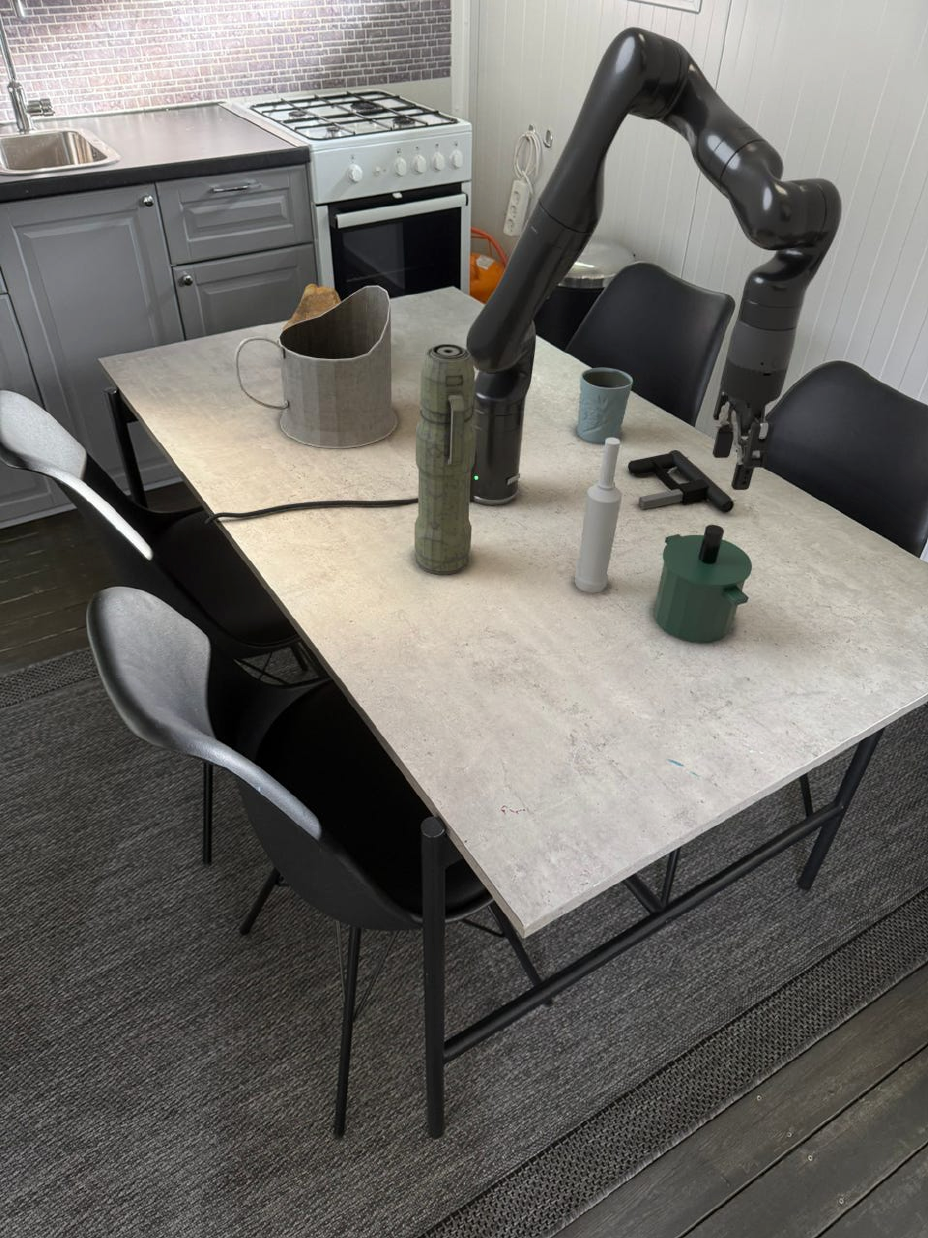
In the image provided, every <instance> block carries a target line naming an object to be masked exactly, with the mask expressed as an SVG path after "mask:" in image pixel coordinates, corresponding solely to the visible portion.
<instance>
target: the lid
mask: <svg viewBox="0 0 928 1238" xmlns="http://www.w3.org/2000/svg"><path fill="white" fill-rule="evenodd" d="M724 534H725V529H724V528H723V527H721V526H720V525H718V524H708V525H706V526H705V527H704V531H703V534H688V535H687V534H686V535H682V536H681V537H678V538H675V539H673V540H672V541H670V542H669V543H668V544H666V545H665V546H664V548H663V551H662V561H663V564H664V563H665V565H666V566H667V568H668V569H669V570H670V571H671V572H673V573H674V574H675V575H677V576H678V577H680V578H681V579H683V580H686V581H688V582H690V583H693V584H697V585H700V586H705V587H714V588H724V587H731V586H735V585H738V584H740V583H742V582H744V581H745V582H746V581H747V580H748V578H750V576H751V574H752V570H753V562H752V560H751V558H750V556H749V555H748V554H747V552H745V551H744V550H743V549H742V548H740V547H739V546H738V545H736V544H734V543H732V542H730V541H728V540H726V539H723V537H724ZM745 582H744V583H745Z"/></svg>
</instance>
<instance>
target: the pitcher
mask: <svg viewBox="0 0 928 1238" xmlns="http://www.w3.org/2000/svg"><path fill="white" fill-rule="evenodd" d="M391 307H392V306H391V298H390V296H389V293H388V291H387V290H386V289H384V288H383V287H381V286H379V285H366V286H364V287H362V288H360V289H359V290H357V291H355V292H353V293H352V294H350V295H349V296H348V297H346V298H345V299H344V300H341V303H339V304H338V305H337V306H335V307H334V308H332V309H330V310H329V311H327V312H325V313H324V314H322V315H320V316H318V317H314V318H311V319H307V320H304V321H301V322H298V323H295V324H292V325H290V326H289V327H287V328H286V329H284V330H283V329H282V330H281V332H280V334H279V335H278V338H277V341H278V340H279V344H278V343H277V341H275V340H273V339H271V338H269V337H266V336H257V335H255V336H249V337H246V338H244V339H243V340H241V341H240V342H239V344H238V345H237V347H236V348H235V352H234V356H233V363H234V364H233V365H234V373H235V377H236V381H237V384H238V387H239V388H240V390H241V391H242V392H243V393H244V394H245V396H247V397H248V398H249V399H250V400H251V401H253V402H254V403H256V404H257V405H260V406H261V407H264V408H267V409H270V410H275V411H282V414H281V417H280V420H279V423H280V428H281V430H282V431H283V432H284V433H285V434H286V436H288V437H289V438H290V439H293V440H294V441H296V442H299V443H300V444H304V445H307V446H308V445H309V446H313V447H317V448H323V449H351V448H359V447H363V446H366V445H371V444H375V443H376V442H378V441H381V440H383V439H385V438H387V437H388V436H389V435H390V434H391V433H392V432H394V430H395V429H396V426H397V422H398V418H397V416H396V413H395V411H394V408H393V406H392V405H393V404H392V403H393V402H392V401H393V400H392V399H393V397H392V313H391V310H392V309H391ZM253 341H264V342H268V343H271V344H272V345H275V346H276V347H277V348H278V349H279V350H278V351H279V361H280V373H281V384H282V393H283V395H282V396H283V405H279V406H277V405H272V404H268V403H264V402H262V401H260V400H258V399H256V398H255V397H253V396H252V395H251V394H249V393H248V392H247V391H246V390H245V388H244V386H243V384H242V380H241V375H240V370H239V369H240V368H239V356H240V352H241V351H242V349H243V348H244V346H245V345H247V344H248V343H249V342H253Z"/></svg>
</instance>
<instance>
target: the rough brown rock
mask: <svg viewBox="0 0 928 1238" xmlns="http://www.w3.org/2000/svg"><path fill="white" fill-rule="evenodd" d="M341 302H342V300H341V298H340V296H339V293H338V292H337V290H336V289H335V288H333V287H331V286H328V285H322V286H319V285H318V284H314V283H309V284H308V285H307V286H305V288H304V290H303V294H302V297H301V299H300V302H299V304H298V306H297V308H296V310H295V311H294V313H293V315H292V317H291V318H290V319H289V320H288V321H287V323H286V324H285V325H284V326H283V328H282V331H283V330H284V329H286V328H287V327H289V326H290V325H292V324H295V323H298V322H301V321H304V320H307V319H311V318H314V317H318V316H320V315H322V314H324V313H325V312H327V311H329V310H330V309H332V308H334V307H335V306H337V305H338V304H339V303H341ZM276 343H278V344H279V340H278V339H277V341H276Z"/></svg>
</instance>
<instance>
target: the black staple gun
mask: <svg viewBox="0 0 928 1238" xmlns="http://www.w3.org/2000/svg"><path fill="white" fill-rule="evenodd" d="M689 458H690V456H686V455H684V454H683V452H681V451H680V450H677V449H673V450H670V451H669V452H668V453H663V454H658V455H653V456H648V457H644V458H638V459H634V460H633V459H632V460H630V461H629V462H628V464H627V470H628V472H630V474H632V475H634V476H641V475H646V474H650V473H652V474H653V475H654V476H655V477H656V478H657V479H658V480H659V481H660V482H662V484H663V485H664V486H666V487H667V489H668V490H667V491H666V490H665V491H662V492H658V493H653V494H648V495H644V496H639V500H638V506H639V508H641V509H642V511H644V510H648V509H653V508H658V507H662V506H667V505H672V504H676V503H680V504H681V505H683V506H686V505H690V504H695V503H699V502H705V501H708V502H709V503H710V504H712V506H713V507H714V508H715V509H716V510H718V511H719V512H722V513H723V514H727V513H730V512H731V511H732V510H733V509H734V507H735V502H736V500H733V499H732V497H731V496H729V494H727V493H726V492H725V491H724V490H723V489H722V488H721V487H719V486H718V485H717V484H716V483H715V482H714V481H713V480H712V479H711V478H710V477H709V476H707V475H706V474H705V472H703V471H702V470H701V469H700V468H699V467H698V466H697V465H696V464H694V463H693V462H692V461H691V460H690V459H689ZM665 470H668V471H667V472H666V471H665ZM675 471H676V472H677V473H678V474H679V475H680V476H681V477H683V478H684V479H685V480H686V482H682V483H678V481H676V480H675V479H674V478H673V477H672V476H671V475H672V474H673V473H674V472H675Z"/></svg>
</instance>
